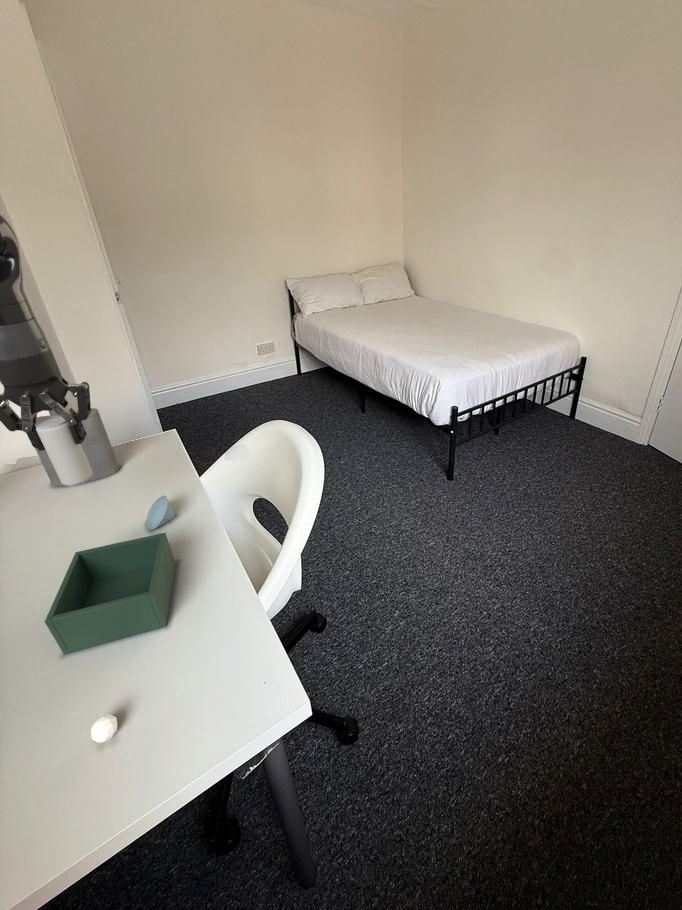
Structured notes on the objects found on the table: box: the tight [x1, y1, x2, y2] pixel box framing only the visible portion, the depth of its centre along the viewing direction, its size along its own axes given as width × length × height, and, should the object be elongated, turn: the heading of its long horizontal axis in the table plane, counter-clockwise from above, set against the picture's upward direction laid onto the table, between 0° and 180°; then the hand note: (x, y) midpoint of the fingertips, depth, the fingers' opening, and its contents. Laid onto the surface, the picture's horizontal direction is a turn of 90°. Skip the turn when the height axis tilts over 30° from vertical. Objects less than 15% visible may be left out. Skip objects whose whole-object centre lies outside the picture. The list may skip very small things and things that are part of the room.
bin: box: [44, 532, 177, 656], centre depth 71 cm, size 15×15×8 cm
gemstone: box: [146, 495, 176, 531], centre depth 91 cm, size 8×8×5 cm
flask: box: [34, 407, 120, 487], centre depth 103 cm, size 15×6×20 cm, turn 114°
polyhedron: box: [90, 714, 118, 744], centre depth 54 cm, size 3×3×3 cm
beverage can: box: [35, 415, 93, 487], centre depth 72 cm, size 5×5×12 cm
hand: (62, 444), depth 71 cm, fingers closed on beverage can, 5 cm apart
